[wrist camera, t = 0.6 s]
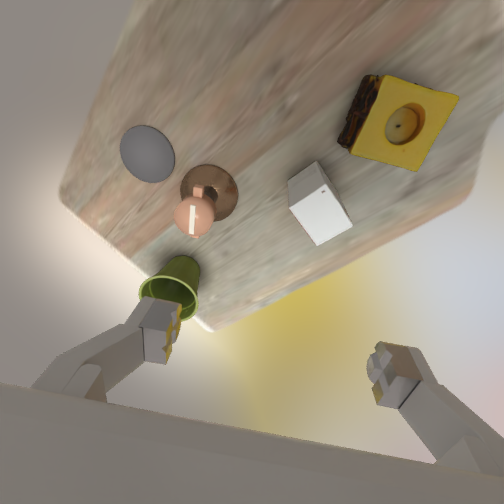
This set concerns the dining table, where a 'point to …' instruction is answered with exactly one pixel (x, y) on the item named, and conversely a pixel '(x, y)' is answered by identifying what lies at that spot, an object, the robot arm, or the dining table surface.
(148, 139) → the pad
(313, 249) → the dining table surface
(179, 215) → the cap
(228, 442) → the robot arm
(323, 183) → the small box
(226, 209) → the brown wide round part
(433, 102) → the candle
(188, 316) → the plant pot
